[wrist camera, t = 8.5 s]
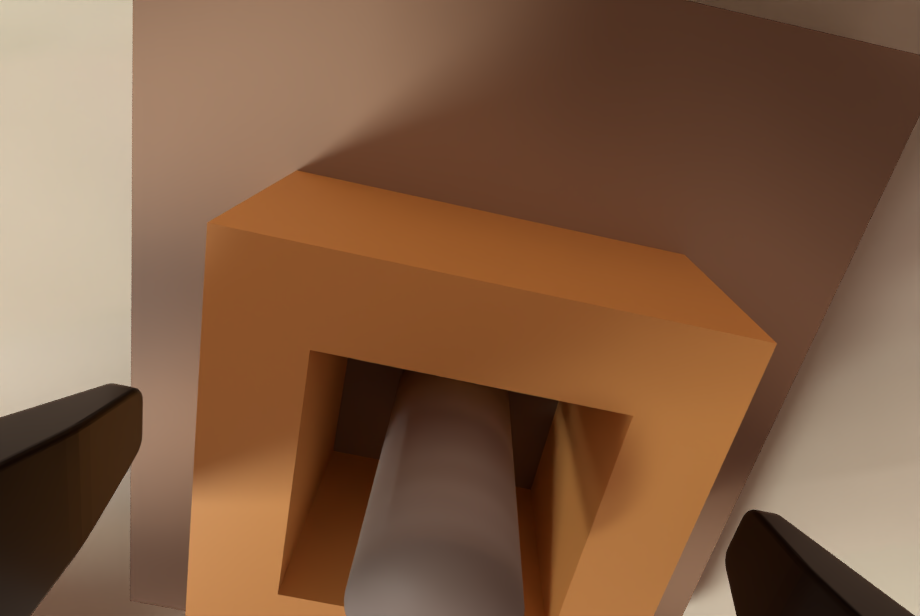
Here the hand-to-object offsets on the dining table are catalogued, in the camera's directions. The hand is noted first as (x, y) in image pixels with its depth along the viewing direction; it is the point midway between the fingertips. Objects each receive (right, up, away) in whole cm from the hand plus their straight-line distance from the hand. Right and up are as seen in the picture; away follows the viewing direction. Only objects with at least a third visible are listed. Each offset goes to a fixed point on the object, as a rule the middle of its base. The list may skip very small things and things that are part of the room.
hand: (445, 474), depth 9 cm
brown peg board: (0, +2, +4) cm, 5 cm away
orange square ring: (0, +1, +2) cm, 3 cm away
